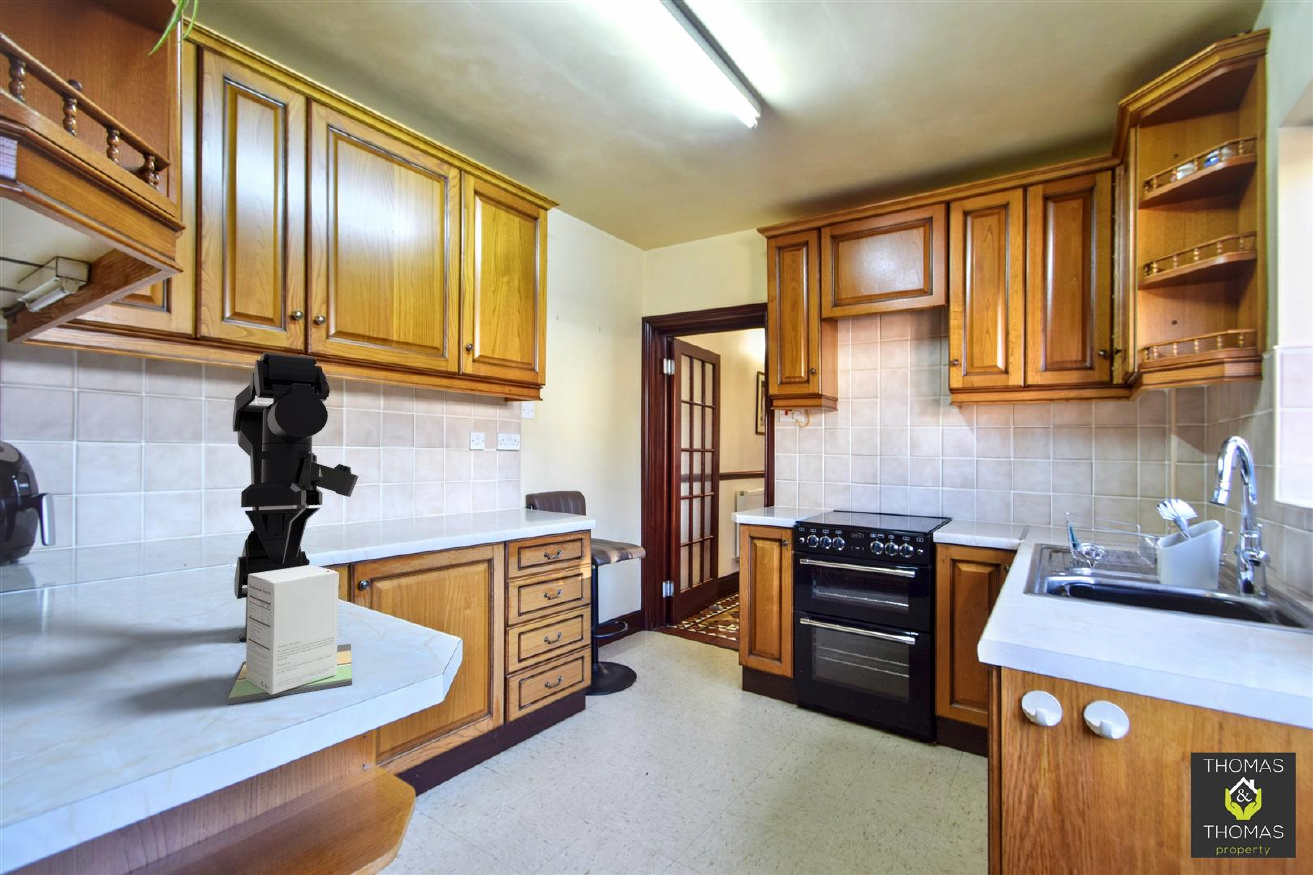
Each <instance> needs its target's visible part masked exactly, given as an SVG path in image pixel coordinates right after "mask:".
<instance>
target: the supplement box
mask: <svg viewBox="0 0 1313 875" xmlns="http://www.w3.org/2000/svg"><path fill="white" fill-rule="evenodd" d="M339 574H340V573H339V572H338V571H335V570H334V569H329V568H325V567H321V566H319V565H318V566H317V565H314V564H313V565H312V564H309V565H307V566H300V567H294V568H287V569H281V570H274V571H267V572H260V573H253V574H248V603H247V641H246V651H245V653H246V654H245V662H246V679H247V680H248V681H249V682H251V683H252V684H254V685H255V686H257V687H259V688H260V689H262V690H264V691H265V692H267V693H269V694H271V695H273V694H276V693H279V692H282V691H285V690H288V689H291V688H295V687H298V686H301V685H305V684H308V683H311V682H314V681H318V680H321V679H324V678H328V677H331V676H334V675H336V674H337V645H338V631H339V630H338V629H339V628H338V626H339V625H338V624H339V622H338V620H339V581H340V580H339V577H340V575H339Z"/></svg>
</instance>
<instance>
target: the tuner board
mask: <svg viewBox="0 0 1313 875" xmlns="http://www.w3.org/2000/svg"><path fill="white" fill-rule="evenodd" d="M352 663H353V662H352V643H345V644H337V674H336V675H334V676H331V677H328V678H324V679H321V680H318V681H314V682H311V683H308V684H305V685H301V686H298V687H295V688H291V689H288V690H285V691H282V692H279V693H276V694H273V695H271V694H269V693H267V692H265V691H264V690H262V689H260V688H259V687H257V686H255V685H254V684H252V683H251V682H249V681H248V680H247V679H246V661H245V662H244V664H243V666H242V668H241V670H240V673H239V675H238V676H237V677H236V678H237V679H236V680H235V683H234V685H233V687H232V690H231V691H230V693H229V696H227V697H228V698H227V705H228V706H229V705H233V704H240V703H248V702H253V701H260V700H266V698H267V699H271V698H278V696H279V697H284V696H283V695H285V696H288V695H287V694H291V695H293V694H292V693H298V694H301V693H309V692H315V690H316V691H321V690H320V689H322V690H327V689H328V688H329V689H334V687H335V688H339V687H338V686H341V687H345V686H344V685H347V686H352V684H353V667H352Z"/></svg>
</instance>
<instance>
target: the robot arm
mask: <svg viewBox="0 0 1313 875" xmlns="http://www.w3.org/2000/svg"><path fill="white" fill-rule="evenodd" d="M317 363H318V360H317V359H316V357H314V356H304V355H295V354H292V355H291V354H285V353H274V352H273V353H272V352H263V353H262V354H261V356H260V358H259V359H255V361H254V368H253V369H254V370H253V372H251V373H250V374H251V375H250V381H249V384H248V385H247V386H246V387H245V388H244V389H242V391H241V392H239V393H238V394H236V396H235V398H234V405H233V413H232V431H233V432H235V433H237V445H238V446H239V447H240V449H242V450H243V452H245V453H246V455H248V456H249V460H250V463H249V464H250V482H251V483H250V484H249V485H248V486H247V487H246V488H245V489H243V490H242V491H241V496H240V497H241V498H240V500H241V501H240V507H241V508H252V510H251V509H250V510H244V513H245V514H244V515H246V516H247V518H248V520H249V521H250V523H251V525H252V529H253V530H251V531H250V532H249V534H248V535H247V538H246V539H245V541H244V544H243V548H242V553H241V556H238V557H237V561H236V566H235V574H234V583H233V585H234V591H233V592H234V596H235V597H236V599H237V600H240V599H241V600H242V599H244V598H245V602H246V603H245V625H244V626H245V627H244V628H243V630H242V631H241V633H240V635H239V638H238V641H239V642H244V641H245V642H247V603H248V574H253V573H260V572H267V571H274V570H281V569H287V568H294V567H300V566H307V565H311V564H310V562H311V561H310V559H309V558H308V557H307V555H306V551H305V550H303V551H302V547H301V544H302V541H303V536H304V534H305V530H306V526H307V523H308V520H309V519H310V518H311V517H313V515H315V514H316V513H317V512H319V511H320V510H321V507H310V506H323V498H324V497H323V494H324V493H323V492H322V491H321V490H320V489H318V488H322V489H324V490H328V491H333V492H335V494H337V495H340V496H344V497H347V498H348V497H349V498H350V497H351V496H352V494H353V491H354V488H355V486H356V485H357V481H358V479H359V475H357V474H354V473H352V468H351V466H349V465H348V466H347V465H345V464H341V463H338V464H337V465H335V467H331V466H327V465H323V464H321V463H318V456H317V455H316V454H315V453H314V452H313V436H315V435H317V434H318V433H320V432H321V431H322V430H323V429H324V428H325V426H326V424H327V423H328V418H329V413H328V410H327V407H326V405H325V403H324V402H325V401H327V398H329V396H330V390H331V388H330V387H329V386H330V385H329V382H328V378H327V377H326V373H324V372H323V367H322V366H321V365H317ZM256 397H257V398H259V399H272V401H273V402H272V403H270V404H269V405H262V404H251V403H253V402H254V401H255V399H256ZM243 586H246V587H243Z"/></svg>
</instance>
